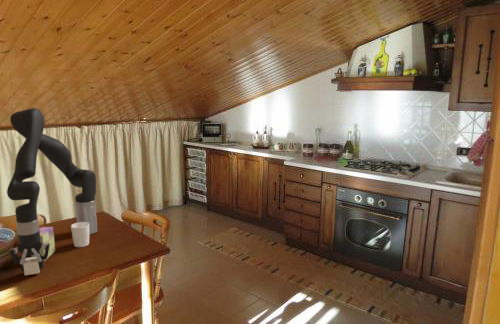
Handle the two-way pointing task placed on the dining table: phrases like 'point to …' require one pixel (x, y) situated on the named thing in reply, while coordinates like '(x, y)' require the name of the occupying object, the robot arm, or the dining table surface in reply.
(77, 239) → the white cup
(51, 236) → the box
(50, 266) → the dining table surface
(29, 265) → the cube
